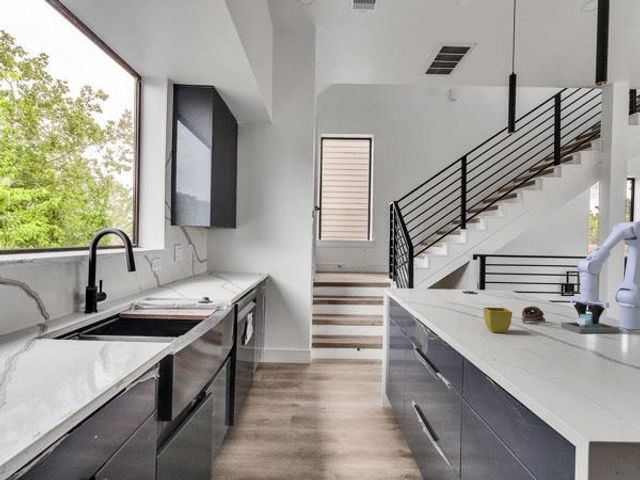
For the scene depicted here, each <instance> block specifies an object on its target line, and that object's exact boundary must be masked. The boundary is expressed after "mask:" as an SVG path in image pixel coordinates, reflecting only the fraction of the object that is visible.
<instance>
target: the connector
mask: <svg viewBox="0 0 640 480" xmlns="http://www.w3.org/2000/svg"><path fill="white" fill-rule="evenodd" d="M576 322H577V324H580V327H584V328H599V323H600V321H599V322H598V324H593V321H592V313H591V312H589V313H586V314H580V318H577V321H576Z"/></svg>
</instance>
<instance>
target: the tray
mask: <svg viewBox="0 0 640 480" xmlns="http://www.w3.org/2000/svg"><path fill="white" fill-rule="evenodd" d="M560 323H561V324H560V328H563V329H564V330H565V329H566V330H568V331H571V332H573V333H577V334H581V335H582V334H583V335H588V334H590V335H591V334H593V335H595V334H619V333H620V331H619V330H620V329H619V328H620V327H618V326H614V325H613V326H612V325H609V324H606V323H602V322H599V328H584V327H580V324H577V321H575V322H574V321H573V322H572V321H571V322H565V321H564V322H560Z"/></svg>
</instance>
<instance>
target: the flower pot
mask: <svg viewBox="0 0 640 480" xmlns="http://www.w3.org/2000/svg"><path fill="white" fill-rule="evenodd" d="M512 317H513V311H512V310H510V309H508V308H506V307H494V306H493V307H488V306H487V307H486V306H485V307H483V318H484V321H485V322H484V324H485V325H486V327H487V329H488V330H489V331H490V332H492V333H502V334H503V333H504V334H505V333H507V331H508V330H509V329H510V326H511V323H512Z"/></svg>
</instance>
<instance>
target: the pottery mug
mask: <svg viewBox="0 0 640 480" xmlns="http://www.w3.org/2000/svg"><path fill="white" fill-rule="evenodd" d="M521 313H522V314H521V317H522V318H521V320H522V322H523V324H525V323H526V322H538V321H539V322H542V323H544V324H546V318H545V317H544V316H545V314H544V311H542V310H541V308H539V307H537V306H525V307H524V308H523V309H522V311H521Z"/></svg>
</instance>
